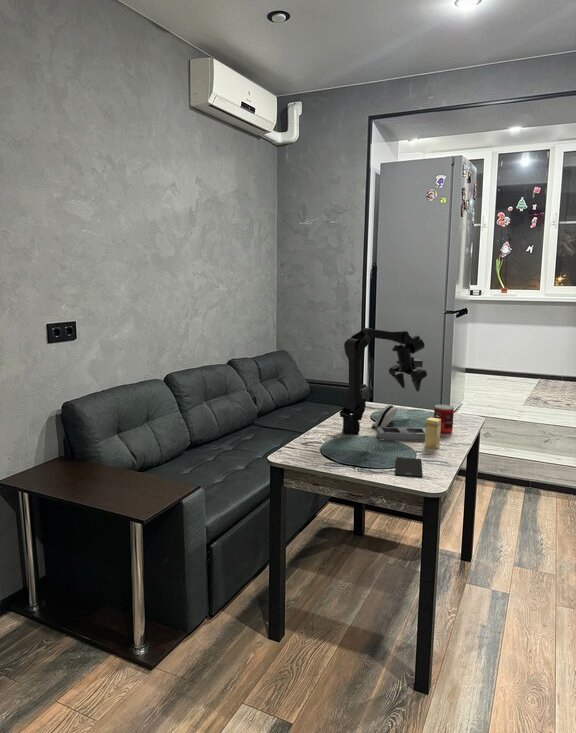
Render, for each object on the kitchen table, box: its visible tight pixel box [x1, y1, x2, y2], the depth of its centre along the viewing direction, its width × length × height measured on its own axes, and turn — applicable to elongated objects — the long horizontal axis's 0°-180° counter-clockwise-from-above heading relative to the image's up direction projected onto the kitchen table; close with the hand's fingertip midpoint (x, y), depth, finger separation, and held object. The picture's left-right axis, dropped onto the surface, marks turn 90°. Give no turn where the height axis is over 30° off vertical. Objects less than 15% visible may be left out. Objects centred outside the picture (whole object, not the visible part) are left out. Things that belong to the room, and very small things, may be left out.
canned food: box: [433, 404, 455, 435], centre depth 229 cm, size 8×8×11 cm
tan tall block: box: [424, 416, 441, 450], centre depth 207 cm, size 5×5×11 cm
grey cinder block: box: [376, 426, 426, 442], centre depth 220 cm, size 20×9×3 cm, turn 89°
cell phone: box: [394, 456, 423, 478], centre depth 185 cm, size 9×18×1 cm, turn 168°
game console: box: [370, 404, 398, 429], centre depth 239 cm, size 17×5×10 cm, turn 152°
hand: (410, 389), depth 241 cm, fingers open, 9 cm apart
